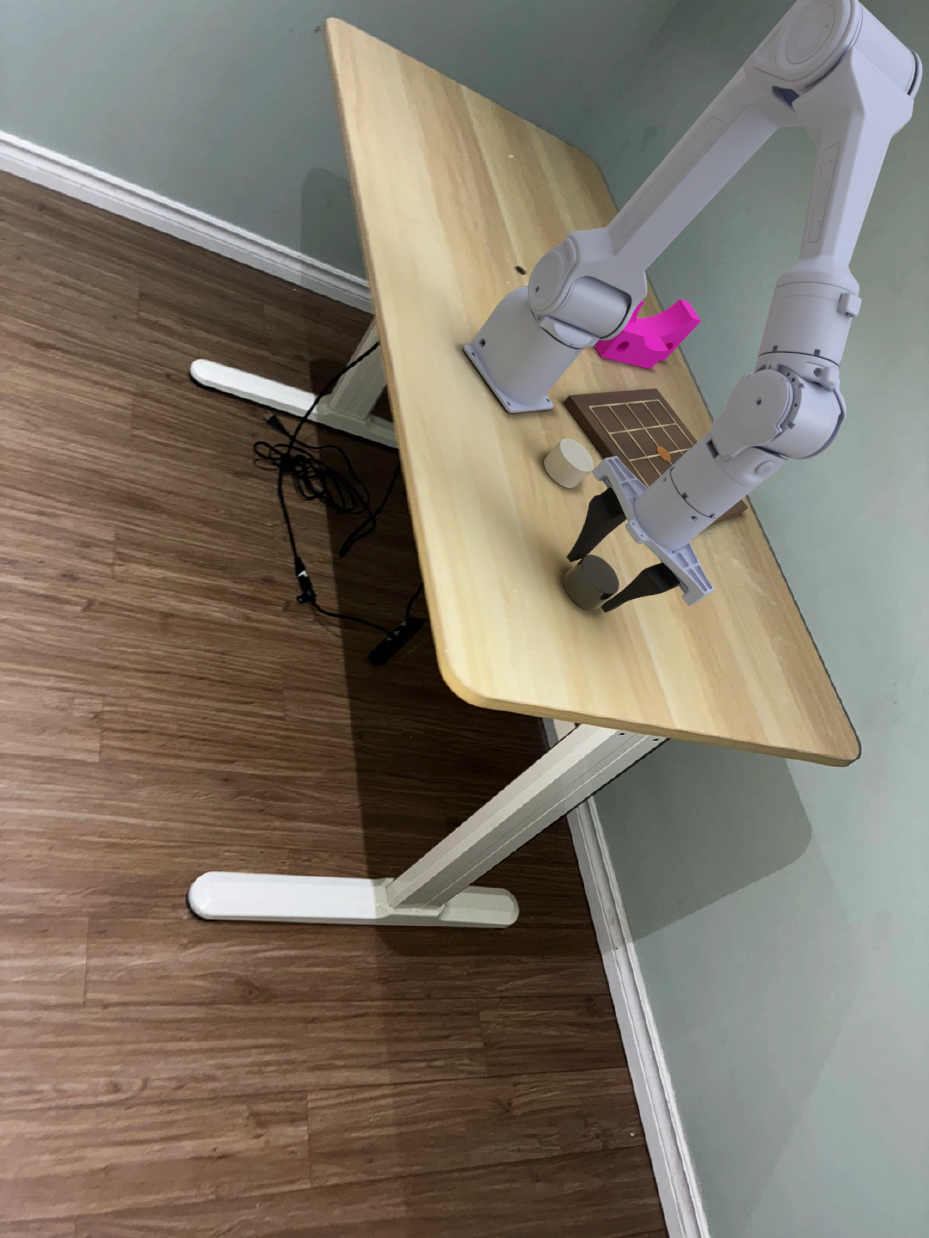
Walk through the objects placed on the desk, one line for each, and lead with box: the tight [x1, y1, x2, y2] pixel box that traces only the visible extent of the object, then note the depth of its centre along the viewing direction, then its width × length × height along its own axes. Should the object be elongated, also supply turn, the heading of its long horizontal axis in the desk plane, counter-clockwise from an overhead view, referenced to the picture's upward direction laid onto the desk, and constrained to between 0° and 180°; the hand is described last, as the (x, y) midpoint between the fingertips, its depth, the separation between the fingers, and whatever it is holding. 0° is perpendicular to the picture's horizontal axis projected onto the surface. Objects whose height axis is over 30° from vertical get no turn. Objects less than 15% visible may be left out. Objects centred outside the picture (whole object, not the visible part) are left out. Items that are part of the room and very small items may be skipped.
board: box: [563, 387, 749, 525], centre depth 98 cm, size 20×20×1 cm
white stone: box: [543, 437, 595, 489], centre depth 85 cm, size 4×4×3 cm
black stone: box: [562, 554, 620, 611], centre depth 75 cm, size 4×4×3 cm
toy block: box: [593, 298, 702, 370], centre depth 109 cm, size 15×6×8 cm, turn 115°
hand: (591, 582), depth 75 cm, fingers open, 5 cm apart
